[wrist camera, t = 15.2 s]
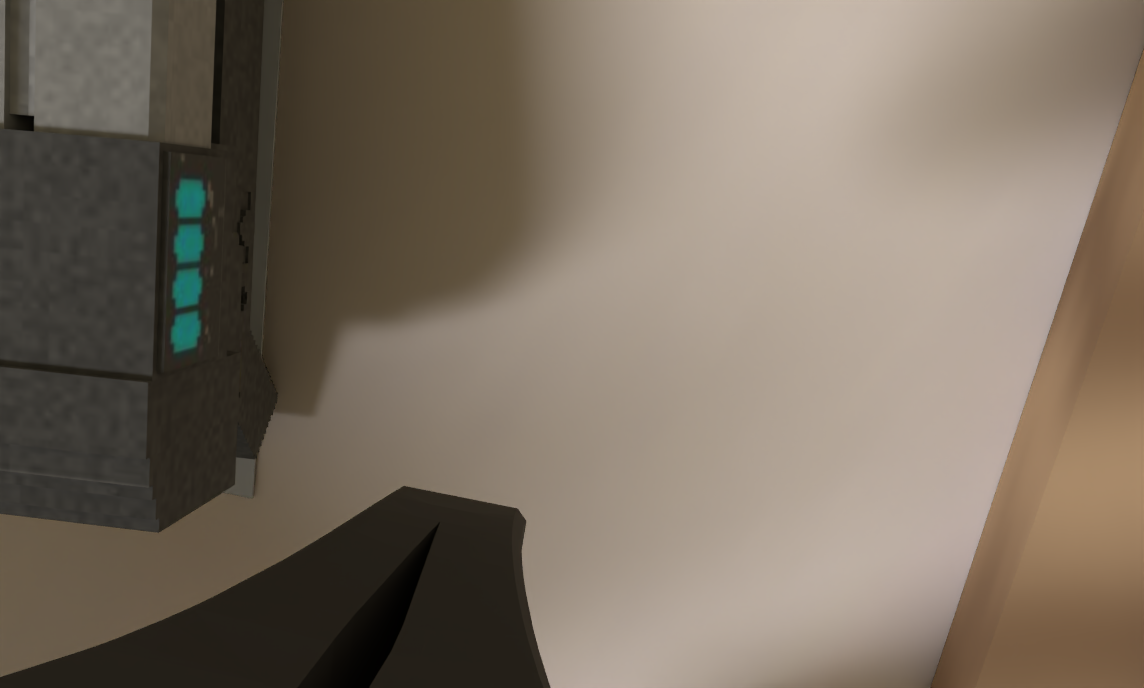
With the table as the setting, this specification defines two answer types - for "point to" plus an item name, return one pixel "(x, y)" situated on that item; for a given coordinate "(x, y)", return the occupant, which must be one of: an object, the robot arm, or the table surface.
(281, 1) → the grey thin plate
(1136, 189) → the wooden board with rails
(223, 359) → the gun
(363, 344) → the table surface
